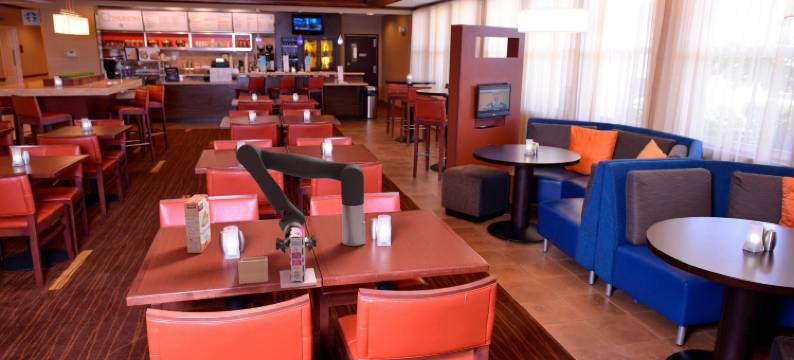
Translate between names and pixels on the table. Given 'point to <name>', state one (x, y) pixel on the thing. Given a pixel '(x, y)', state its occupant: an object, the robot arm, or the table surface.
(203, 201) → the cracker box
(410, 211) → the table surface
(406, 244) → the table surface
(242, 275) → the kraft carton
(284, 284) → the ceramic tile
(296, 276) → the candy bar box
